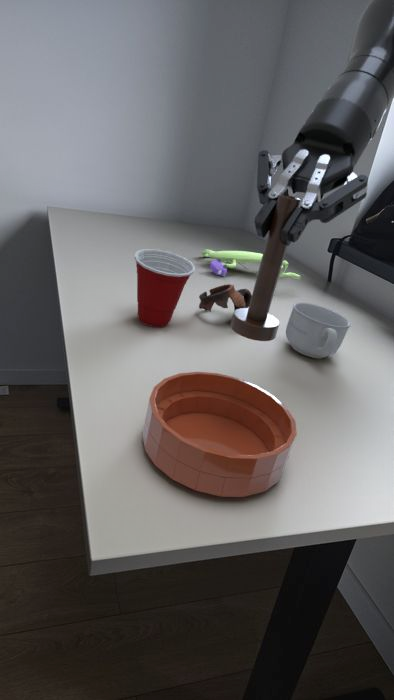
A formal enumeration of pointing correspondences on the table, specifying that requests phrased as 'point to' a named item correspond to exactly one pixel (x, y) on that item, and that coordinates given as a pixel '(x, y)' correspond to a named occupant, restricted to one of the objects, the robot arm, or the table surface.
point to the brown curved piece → (225, 297)
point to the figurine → (240, 257)
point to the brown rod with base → (266, 279)
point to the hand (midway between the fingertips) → (272, 235)
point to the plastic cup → (160, 284)
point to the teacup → (315, 330)
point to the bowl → (218, 433)
